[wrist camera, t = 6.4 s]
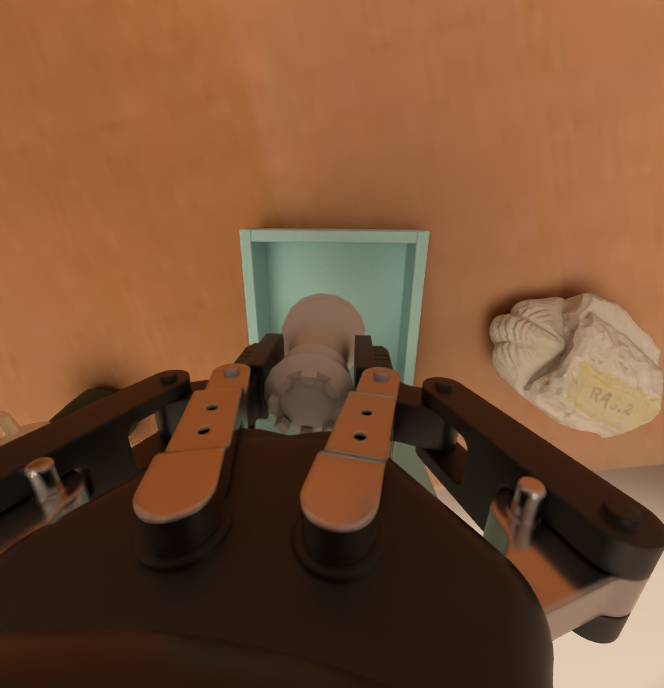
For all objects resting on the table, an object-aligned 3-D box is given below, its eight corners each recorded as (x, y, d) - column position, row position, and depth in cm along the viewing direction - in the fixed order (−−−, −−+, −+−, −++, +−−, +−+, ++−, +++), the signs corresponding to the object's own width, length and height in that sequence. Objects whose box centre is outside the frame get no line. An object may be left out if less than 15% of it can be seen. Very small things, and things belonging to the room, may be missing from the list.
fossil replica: (490, 276, 28) (464, 378, 32) (528, 310, 20) (488, 436, 24) (647, 288, 26) (598, 392, 31) (751, 328, 19) (666, 458, 23)
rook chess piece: (379, 346, 18) (398, 435, 11) (310, 379, 19) (285, 482, 12) (340, 275, 17) (332, 321, 10) (268, 315, 18) (210, 385, 11)
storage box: (257, 227, 27) (238, 229, 23) (416, 229, 26) (429, 231, 22) (269, 393, 33) (255, 421, 28) (400, 398, 32) (408, 428, 27)
